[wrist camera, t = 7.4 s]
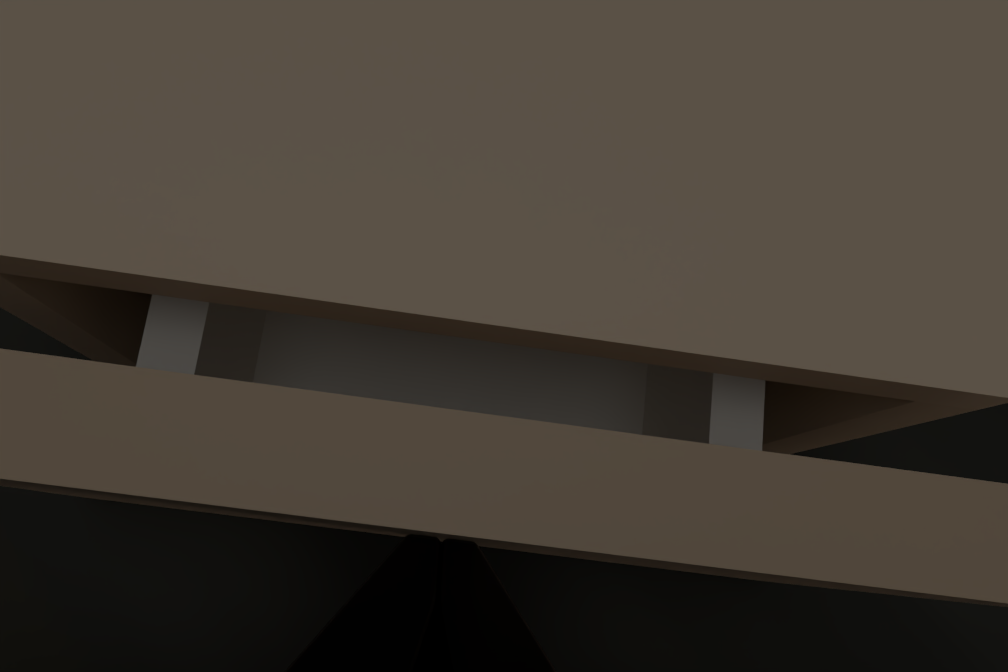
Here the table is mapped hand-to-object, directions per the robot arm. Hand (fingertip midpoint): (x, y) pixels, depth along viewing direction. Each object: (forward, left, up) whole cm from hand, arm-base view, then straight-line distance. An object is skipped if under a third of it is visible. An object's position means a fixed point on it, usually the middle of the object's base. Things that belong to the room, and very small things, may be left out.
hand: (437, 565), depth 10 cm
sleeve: (+9, -3, -7) cm, 12 cm away
